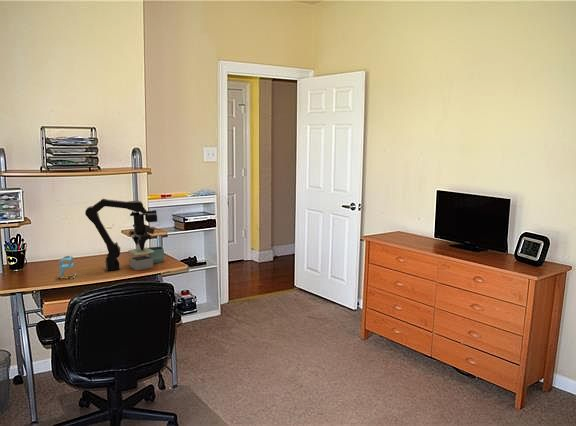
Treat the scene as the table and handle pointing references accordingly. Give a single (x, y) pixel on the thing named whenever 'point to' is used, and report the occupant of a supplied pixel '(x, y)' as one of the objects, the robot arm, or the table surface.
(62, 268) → the chair
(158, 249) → the flower pot
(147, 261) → the storage box
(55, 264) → the table surface
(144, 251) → the lid
